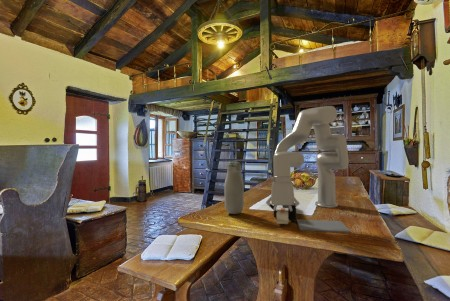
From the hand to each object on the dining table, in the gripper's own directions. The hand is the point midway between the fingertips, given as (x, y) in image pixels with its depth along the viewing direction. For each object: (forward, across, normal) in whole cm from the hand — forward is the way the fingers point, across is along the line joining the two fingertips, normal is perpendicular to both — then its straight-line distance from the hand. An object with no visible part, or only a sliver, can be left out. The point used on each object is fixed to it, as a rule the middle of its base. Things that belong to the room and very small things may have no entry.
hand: (282, 218), depth 108 cm
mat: (+3, +17, 0) cm, 17 cm away
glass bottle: (+3, -24, +13) cm, 28 cm away
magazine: (+3, +4, +18) cm, 18 cm away
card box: (+1, 0, 0) cm, 1 cm away
